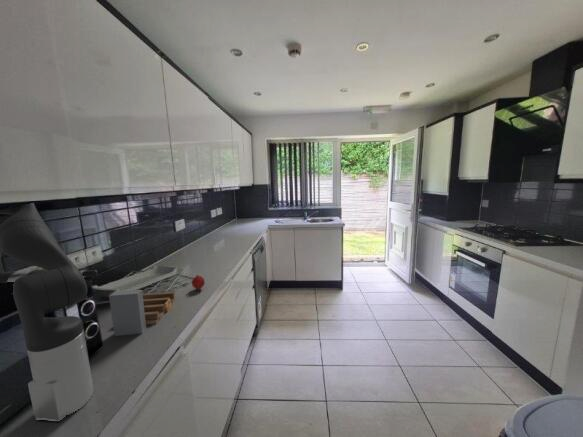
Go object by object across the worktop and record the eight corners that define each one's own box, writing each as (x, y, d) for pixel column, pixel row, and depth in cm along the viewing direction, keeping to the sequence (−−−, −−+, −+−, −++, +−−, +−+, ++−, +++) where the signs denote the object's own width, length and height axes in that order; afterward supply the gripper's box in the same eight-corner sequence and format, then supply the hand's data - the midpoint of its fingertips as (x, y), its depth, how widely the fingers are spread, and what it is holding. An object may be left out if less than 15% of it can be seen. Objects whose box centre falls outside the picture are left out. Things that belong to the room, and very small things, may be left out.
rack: (159, 323, 87) (158, 314, 86) (116, 326, 85) (115, 318, 84) (177, 297, 106) (177, 290, 106) (143, 300, 105) (142, 292, 104)
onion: (192, 288, 116) (191, 273, 115) (204, 286, 118) (203, 271, 117) (192, 293, 111) (191, 277, 109) (205, 291, 113) (203, 275, 111)
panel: (142, 333, 81) (137, 293, 79) (114, 336, 80) (108, 295, 78) (146, 328, 84) (141, 289, 82) (119, 330, 83) (114, 291, 81)
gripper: (8, 279, 68) (69, 276, 70) (51, 262, 82) (101, 260, 84) (13, 303, 69) (73, 299, 71) (54, 282, 83) (103, 280, 85)
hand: (88, 278), depth 77 cm, fingers open, 8 cm apart
